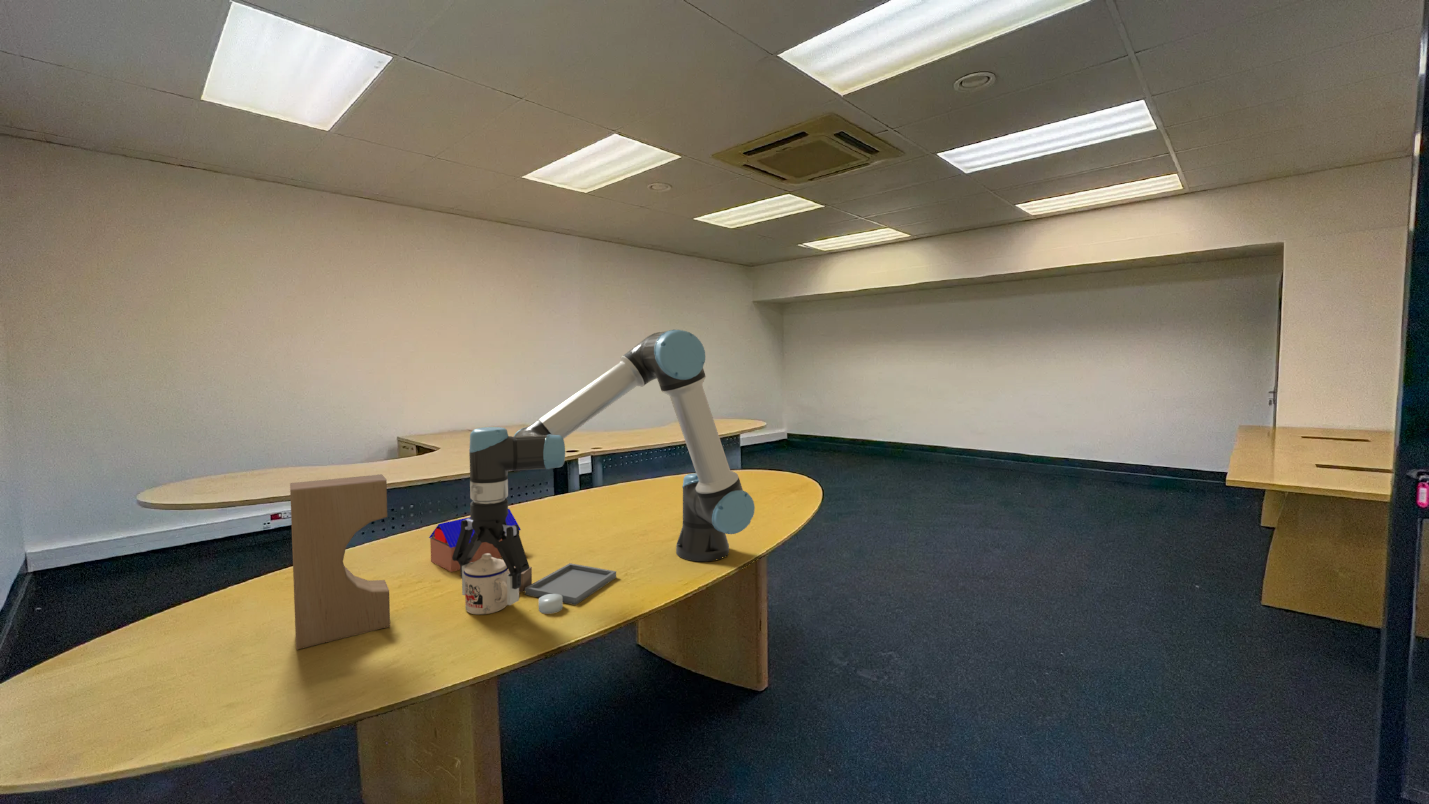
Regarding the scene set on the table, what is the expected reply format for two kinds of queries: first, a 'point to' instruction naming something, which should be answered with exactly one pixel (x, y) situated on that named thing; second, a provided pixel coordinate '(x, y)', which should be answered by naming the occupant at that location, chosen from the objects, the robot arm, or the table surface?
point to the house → (447, 540)
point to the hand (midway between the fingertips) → (490, 597)
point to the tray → (571, 583)
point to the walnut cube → (525, 579)
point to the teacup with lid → (485, 585)
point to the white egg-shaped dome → (550, 603)
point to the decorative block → (334, 559)
